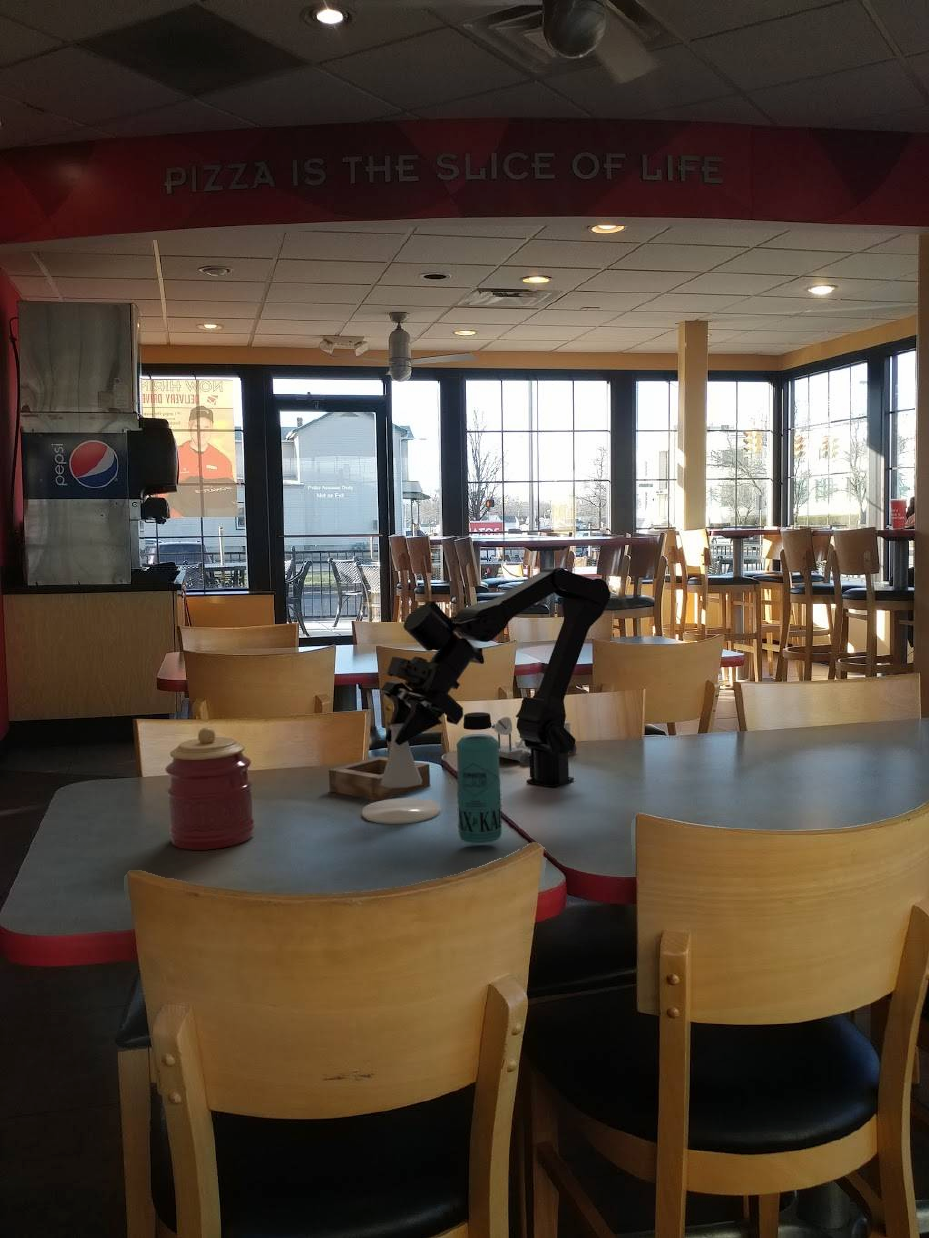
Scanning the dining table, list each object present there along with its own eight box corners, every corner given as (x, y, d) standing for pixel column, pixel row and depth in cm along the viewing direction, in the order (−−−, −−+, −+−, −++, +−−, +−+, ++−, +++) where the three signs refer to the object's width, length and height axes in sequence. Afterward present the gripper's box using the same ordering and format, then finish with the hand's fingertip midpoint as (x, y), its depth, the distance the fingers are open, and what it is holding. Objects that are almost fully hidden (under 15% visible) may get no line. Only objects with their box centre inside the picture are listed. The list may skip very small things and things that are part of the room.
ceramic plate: (456, 809, 174) (456, 804, 174) (402, 828, 164) (402, 823, 164) (400, 798, 182) (400, 794, 182) (346, 816, 173) (345, 811, 173)
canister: (176, 856, 154) (169, 739, 153) (164, 834, 166) (157, 725, 164) (263, 843, 159) (257, 729, 158) (245, 822, 171) (239, 717, 170)
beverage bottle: (457, 841, 156) (451, 710, 154) (500, 838, 157) (496, 708, 155) (460, 855, 150) (455, 718, 148) (506, 852, 150) (501, 715, 148)
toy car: (510, 721, 201) (472, 714, 210) (512, 771, 202) (474, 762, 211) (575, 708, 213) (536, 702, 222) (576, 755, 214) (537, 747, 223)
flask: (428, 786, 171) (426, 726, 170) (386, 791, 168) (383, 730, 168) (415, 777, 177) (413, 720, 177) (374, 782, 175) (372, 723, 174)
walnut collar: (430, 785, 191) (429, 764, 191) (380, 801, 181) (379, 778, 181) (380, 776, 200) (379, 756, 199) (329, 791, 190) (328, 769, 190)
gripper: (387, 634, 181) (334, 705, 176) (443, 642, 165) (386, 720, 160) (428, 674, 186) (377, 744, 181) (487, 685, 170) (432, 762, 165)
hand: (392, 742), depth 172 cm, fingers closed on flask, 3 cm apart
